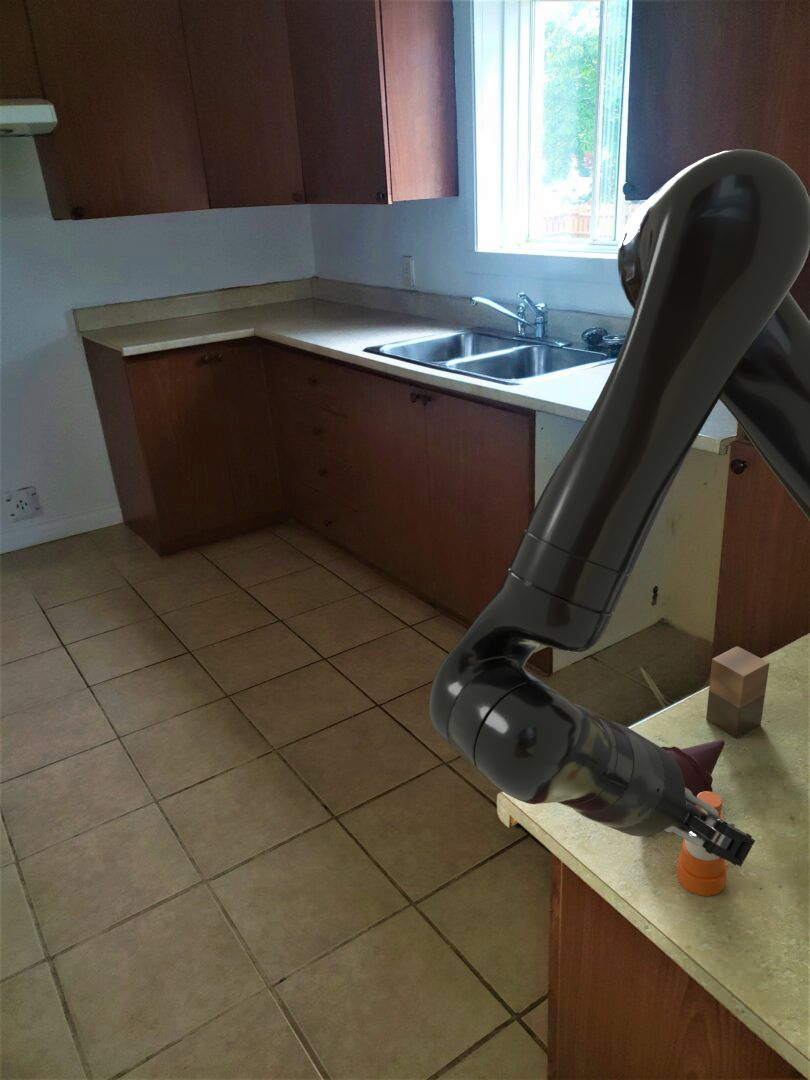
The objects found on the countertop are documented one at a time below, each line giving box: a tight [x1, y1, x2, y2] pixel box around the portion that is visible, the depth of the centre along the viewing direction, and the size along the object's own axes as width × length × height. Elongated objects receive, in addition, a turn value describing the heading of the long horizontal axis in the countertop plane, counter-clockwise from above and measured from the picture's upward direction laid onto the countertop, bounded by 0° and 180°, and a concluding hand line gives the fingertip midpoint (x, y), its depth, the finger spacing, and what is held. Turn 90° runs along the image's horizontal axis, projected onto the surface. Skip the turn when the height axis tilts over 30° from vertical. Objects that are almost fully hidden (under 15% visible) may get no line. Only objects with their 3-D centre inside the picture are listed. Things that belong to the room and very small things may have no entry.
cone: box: [676, 791, 728, 897], centre depth 77 cm, size 4×4×10 cm
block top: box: [708, 645, 770, 708], centre depth 97 cm, size 4×4×4 cm
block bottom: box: [705, 689, 766, 739], centre depth 99 cm, size 4×4×4 cm
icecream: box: [660, 739, 726, 806], centre depth 87 cm, size 7×7×15 cm
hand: (695, 816), depth 74 cm, fingers open, 8 cm apart
